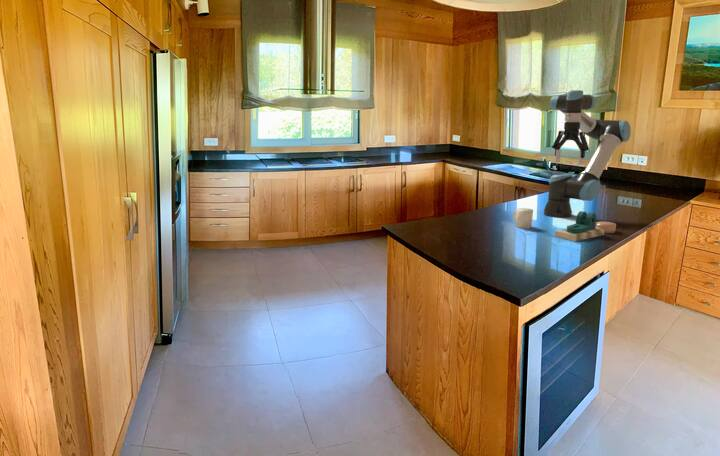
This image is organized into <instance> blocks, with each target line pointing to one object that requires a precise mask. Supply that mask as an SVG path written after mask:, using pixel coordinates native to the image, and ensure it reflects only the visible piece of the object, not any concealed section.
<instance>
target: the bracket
mask: <svg viewBox="0 0 720 456" xmlns="http://www.w3.org/2000/svg"><path fill="white" fill-rule="evenodd" d="M596 222H597V214H596V213H595V212H588V213H587V211H578V213H577V215H576V217H575V223H573V224H570V225H567V226H566V229H567V232H569V233H575V234H579V233H583V232H586V231H589V230H592V229H595V228H596Z"/></svg>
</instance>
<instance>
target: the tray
mask: <svg viewBox="0 0 720 456" xmlns="http://www.w3.org/2000/svg"><path fill="white" fill-rule="evenodd" d="M604 235H605V233H604V230H603V229H599V228H595V229H592V230H589V231H586V232H583V233H579V234H575V233H569V232H567V228H564V229H558V230H555V232H554V237H556V238H561V239H565V240H569V241H573V242H578V241H583V240H587V239H592V238H596V237H601V236H604Z"/></svg>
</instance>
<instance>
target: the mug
mask: <svg viewBox="0 0 720 456" xmlns="http://www.w3.org/2000/svg"><path fill="white" fill-rule="evenodd" d="M533 213H534V210H533V209H531V208H527V207H526V208H525V207H522V208H520V207H519V208H516V210H513V217H512V220H513V221H515V227H516V228H518V229H526V230H527V229H532V226H533V215H534V214H533Z"/></svg>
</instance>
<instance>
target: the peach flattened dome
mask: <svg viewBox="0 0 720 456" xmlns="http://www.w3.org/2000/svg"><path fill="white" fill-rule="evenodd" d="M616 227H617V224H616V223H615V222H611V221H596V228H599V229H603V230H604V234H615V233H616Z"/></svg>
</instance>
